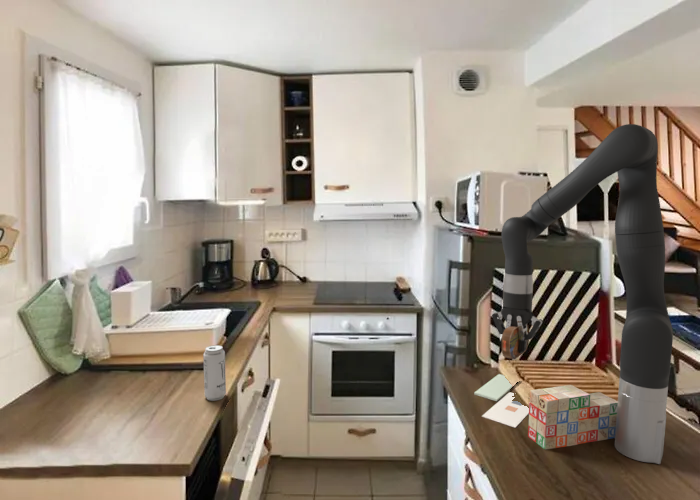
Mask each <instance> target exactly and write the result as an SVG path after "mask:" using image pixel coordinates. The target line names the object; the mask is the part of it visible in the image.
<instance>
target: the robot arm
mask: <svg viewBox="0 0 700 500" xmlns="http://www.w3.org/2000/svg"><path fill="white" fill-rule="evenodd" d="M658 146H659V145H658V139H657V136H656V135H655V134H654V132H653V131H652V130H650V129H649V128H647V127H644V126H642V125H639V124H636V123H635V124H634V123H626V124H623V125H620V126H618V127H616V128H614V129H613V130H612V131H611V132H610V133H609V134H608V135H607V136H606V137H605V138H604V139H603V140H602V141H601V142H600V143H599V144H598V146H597V147H595V149H594V150H593V151H592V152H591V153H590V154H589V155H588V156H587V157H586V158H585V159H584V160H583V161H582V162H581V163H580V164H578V166H577V167H576V168H575V169H573V170H572V171H571V172H569V174H567V175H566V176H565V177H564V178H563V179H561V180H560V181H559V182H558V183H556V184H555V185H554V186H553V187H551V188H549V190H547V191H546V192H545V193H543V194H542V195H541V196H540V197H539V198H537V199H536V200H535V201H533V202H532V205H531V207H530V208H531V209H530V210H529V211H527V212H526V213H525V214H523V215H521V216H513V217H510V218H508V219H506V221H505V222H504V223H503V225H502V228H501V243H502V249H503V253H504V257H505V260H504V261H505V263H504V277H503V283H502V308H501V310H500V311H498V312H495V313H492V315H491V317H492V320H493V322H494V324H495V326H496V329H497V331H498V334H499V335H503V332H504V330H505V329H506V328H508V327H511V326H516V327H518V331H519V335H520V340H519V353H521V355H523V354H524V353H525V352H526V351H527V350H526V343H527V340H529V341H531V340H532V339H533V338H535V336H536V334H537V332H538V331H539V329H540V328H541V326H542V325H543V323H544V321H543V319H541V318H538V317H536V316H535V315H534V313H533V295H534V294H533V291H534V280H533V271H534V270H533V267H534V260H533V259H534V258H533V255H532V254H531V253H530V252H529V251H528V249H529V248H528V243H529V242H531V241H533V240H534V239H536V238H537V237H539V236H540V235H541V234H542V233H543V232H544V231H545V230H546V229H548V227H549V226H550V225H551V224H552V223H554V222H555V221H557V220H559V219H560V218H561V217H562V216H564V215H565V214H566V213H567V212H570V210H572V209H573V208H575V206H577V204H579V203H580V202H581V201H582V200H583V199H584V198H585V197H586V196H587V195H588V193H590V191H592V190H593V189H594V188H595V187H596V186H597V185H599V184H601V182H603V181H604V180H606V179H607V178H609V177H611V176H612V175H614V174H615V173H617V177H618V179H617V180H618V187H619V194H618V195H619V197H618V203H617V207H616V214H615V220H614V234H615V235H614V236H615V237H614V238H615V246H616V247H615V248H616V249H615V250H616V253H617V255H616V256H617V259H618V264H619V267H620V271H621V275H622V277H623V281H624V285H625V292H626V313H625V322H624V324H623V327H622V331H621V341H620V357H619V379H618V381H619V382H618V395H617V401H618V405H617V418H616V432H615V438H614V448H615V449H616V451H618V452H619V453H620V454H622V455H623V456H624V457H625V456H626V457H627V458H629V459H631V460H632V459H633V460H635V461H638V462H644V463H653V464H658V465H661V463H662V459H663V455H664V445H665V432H666V425H667V424H666V423H667V414H666V413H667V402H668V390H669V381H670V374H671V362H672V351H673V341H674V340H673V339H674V338H673V337H674V336H673V335H674V334H673V333H674V332H673V326H672V323H671V319H670V316H669V312H668V307H667V306H668V305H667V301H666V297H665V287H664V286H665V285H664V283H665V281H664V280H665V272H666V271H665V270H666V268H665V267H666V243H665V242H666V241H665V231H664V222H663V214H662V209H661V201H660V198H659V192H658V184H657V183H658V181H657V175H658V174H657V171H658V170H657V169H658V153H659V151H658V149H659V147H658ZM503 319H504V321H505V322H506V324H505V325H504V322H503ZM530 322H531V326H532V327H531V328H530V329H529V333H528V334H527V325H528V324H529V323H530ZM524 351H525V352H524ZM523 352H524V353H523ZM522 353H523V354H522Z"/></svg>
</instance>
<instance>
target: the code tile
mask: <svg viewBox="0 0 700 500" xmlns="http://www.w3.org/2000/svg"><path fill="white" fill-rule="evenodd" d="M512 396H514V393H513V392H510V391H508V392H507V393H506V394H505V395H504V396H502V397H501V398H500V399H499V400H498V401H496V403H495V404H494V405H493V406H492V407H490V408H489V409H488V410H486V412H484V413H483V414H482V415H481V417H482V418H485V419H487V420H490V421H494V422H497V423H499V424H503V425H505V426H509V427H512V428H517V427H518V426H519V425H520V424H521V422H523V420H524V419H526V417H527V416H529V408H528V407H527V406H524V405H522V404H521V403H520V402H518V401H512V400H513V399H514V398H515V397H512Z"/></svg>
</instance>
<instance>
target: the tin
mask: <svg viewBox="0 0 700 500" xmlns="http://www.w3.org/2000/svg"><path fill="white" fill-rule="evenodd" d="M505 328H506V327H505ZM529 332H530V328H529V325H528V324H527V334H528V333H529ZM519 340H520V335H519V331H518V327H516V326H511V327H508V328H506V329H505V330H504V332H503V334H501V353H502V356H503V357H504V358H506V359H512V360H516V359H517V358H519V357H520V356H522V355H523V354H524V353H525V352H526V351H527V350H528V346H529V343H530V340H527V343H526V351H524V352H523V353H522V354H521V353H519Z"/></svg>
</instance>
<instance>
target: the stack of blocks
mask: <svg viewBox="0 0 700 500" xmlns="http://www.w3.org/2000/svg"><path fill="white" fill-rule="evenodd" d="M529 398H530V402H529V414H528V427H527V437H528V438H529V439H531V440H532V441H533V442H535V443H536V444H537V445H538V446H539V447H541V448H542V449H543V450H550V449H559V448H566V447H571V446H577V445H581V444H587V443H591V442H599V441H604V440H605V441H606V440H610V439H615V432H616V418H617V405H618V400H616V399H614V398H613V397H611V396H608V395H606V394H604V393H603V392H601V391H599V392H592V393H588V392H586V391H583V390H582V389H580V388H578V387H576V386H574V385H573V384H566V385H560V386H559V385H558V386H554V387H546V388H541V389H540V388H538V389H530V390H529Z"/></svg>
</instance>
